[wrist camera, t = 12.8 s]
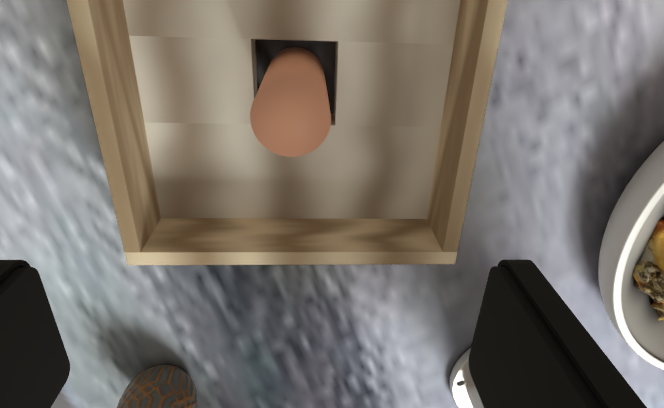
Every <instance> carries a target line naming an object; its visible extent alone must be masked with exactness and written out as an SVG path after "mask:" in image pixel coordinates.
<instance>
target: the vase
mask: <svg viewBox="0 0 664 408" xmlns="http://www.w3.org/2000/svg"><path fill="white" fill-rule="evenodd" d="M196 407H197V394H196V389H195V385H194V383H193V381H192V379H191V378H190V376H189V375H188V374H187V373H186V372H184V371H183V370H182V369H180V368H178V367H176V366H172V365H158V366H154V367H151V368H149V369H147V370H145V371H143V372H141V373H140V374H139V375H138V376H136V377H135V378H134V379H133V380H132V381H131V383H130V384H129V385H128V386H127V388H126V389H125V391H124V393H123V395H122V397H121V399H120V401H119V403H118V406H117V408H196Z"/></svg>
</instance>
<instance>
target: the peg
mask: <svg viewBox="0 0 664 408" xmlns="http://www.w3.org/2000/svg"><path fill="white" fill-rule="evenodd" d="M250 121H251V126H252V130H253V132H254V134H255V136H256V138H257V139H258V141H259V142H260V143H261V144H262V145H263V146H264V147H265V148H267V149H268V150H270V151H271V152H273V153H275V154H278V155H281V156H286V157H297V156H302V155H306V154H308V153H310V152H312V151H314V150H315V149H316V148H318V147H319V146H320V145H321V144H322V143H323V141H324V140H325V139H326V137H327V135H328V132H329V130H330V125H331V112H330V106H329V100H328V93H327V87H326V81H325V74H324V69H323V66H322V64H321V62H320V60H319V59H318V58H317V56H315V55H314V54H313V53H312V52H310V51H309V50H307V49H304V48H300V47H290V48H286V49H284V50H282V51H280V52H278V53H277V54H276V55H275V56H274V57H273V59H272V60H271V62H270V64H269V66H268V69H267V71H266V73H265V75H264V78H263V80H262V82H261V85H260V87H259V89H258V92H257V94H256V96H255V98H254V101H253V103H252V106H251V111H250Z"/></svg>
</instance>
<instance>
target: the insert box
mask: <svg viewBox="0 0 664 408" xmlns="http://www.w3.org/2000/svg"><path fill="white" fill-rule="evenodd" d="M507 1H508V0H67V5H68V9H69V13H70V18H71V22H72V26H73V31H74V35H75V39H76V44H77V48H78V52H79V57H80V61H81V65H82V70H83V74H84V78H85V83H86V87H87V92H88V96H89V100H90V105H91V109H92V113H93V118H94V122H95V126H96V131H97V135H98V139H99V144H100V148H101V152H102V157H103V161H104V165H105V170H106V174H107V179H108V183H109V187H110V192H111V196H112V200H113V205H114V209H115V213H116V218H117V222H118V226H119V231H120V235H121V239H122V244H123V248H124V252H125V257H126V261H127V265H323V264H455V261H456V256H457V251H458V246H459V241H460V236H461V231H462V226H463V221H464V216H465V211H466V206H467V201H468V196H469V191H470V186H471V181H472V176H473V171H474V166H475V161H476V156H477V151H478V146H479V141H480V136H481V131H482V126H483V121H484V116H485V111H486V106H487V101H488V96H489V91H490V86H491V81H492V76H493V71H494V66H495V61H496V56H497V51H498V46H499V41H500V36H501V31H502V26H503V21H504V16H505V11H506V6H507ZM255 39H268V40H305V41H336V53H335V83H334V112H333V115H331V125H330V130H329V132H328V135H327V137H326V139H325V140H324V141H323V143H322V144H321V145H320V146H319V147H318V148H316V149H315V150H314V151H312V152H310V153H308V154H306V155H302V156H297V157H286V156H281V155H278V154H275V153H273V152H271V151H270V150H268V149H267V148H265V147H264V146H263V145H262V144H261V143H260V142H259V141H258V139H257V138H256V136H255V134H254V132H253V130H252V126H251V121H250V111H251V106H252V103H253V101H254V98H255V96H256V94H257V92H258V84H257V63H256V42H255Z"/></svg>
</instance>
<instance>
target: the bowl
mask: <svg viewBox="0 0 664 408" xmlns="http://www.w3.org/2000/svg"><path fill="white" fill-rule="evenodd" d="M598 275H599V286H600V292H601V297H602V300H603V304H604V307H605V309H606V312H607V314H608V316H609V318H610V320H611V322H612V324H613V325H614V327H615V329H616V330H617V332H618V333H619V334H620V336H621V337H622V338H623V339H624V341H625V342H626V343H627V344H628V345H629V346H630V347H631V348H632V350H633V351H634V352H636V353H637V354H638V355H639V356H640V357H642V358H643V359H644V360H646V361H647V362H649V363H651V364H652V365H654V366H656V367H658V368H661V369H663V370H664V141H663V142H662V143H661V144H660V145H659V146H658V147H657V148H656V149H655V150H654V151H653V152H652V154H651V155H650V156H649V157H648V158H647V159H646V160H645V162H644V163H643V164H642V165H641V167H640V168H639V169H638V170H637V172H636V173H635V175H634V176H633V177H632V179H631V180H630V182H629V183H628V185H627V186H626V188H625V189H624V191H623V193H622V194H621V196H620V198H619V200H618V202H617V203H616V206H615V208H614V210H613V212H612V214H611V216H610V219H609V221H608V224H607V226H606V229H605V232H604V236H603V240H602V244H601V249H600V255H599V268H598Z"/></svg>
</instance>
